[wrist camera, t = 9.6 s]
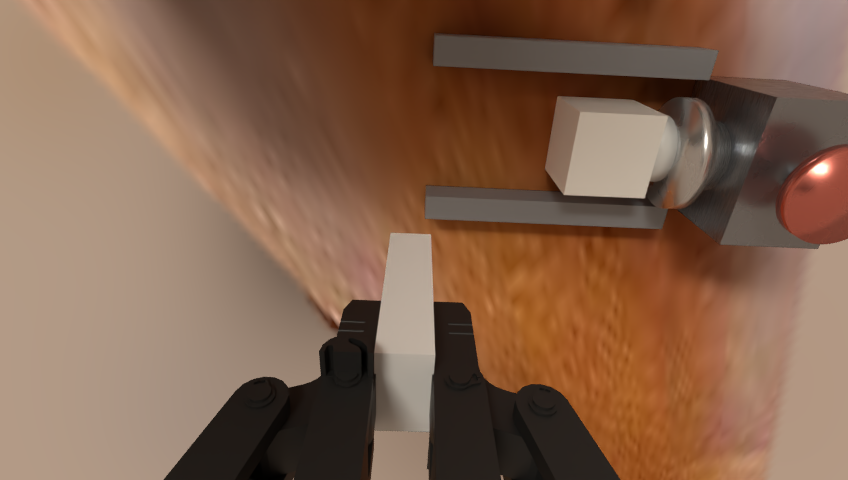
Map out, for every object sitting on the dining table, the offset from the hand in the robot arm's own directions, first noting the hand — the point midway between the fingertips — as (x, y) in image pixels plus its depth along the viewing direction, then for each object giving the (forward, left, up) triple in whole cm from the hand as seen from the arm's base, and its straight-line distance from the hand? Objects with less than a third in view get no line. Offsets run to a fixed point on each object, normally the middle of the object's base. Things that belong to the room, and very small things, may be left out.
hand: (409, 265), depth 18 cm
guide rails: (0, +11, -22) cm, 25 cm away
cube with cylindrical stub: (0, +14, -22) cm, 26 cm away
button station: (0, +24, -22) cm, 32 cm away
